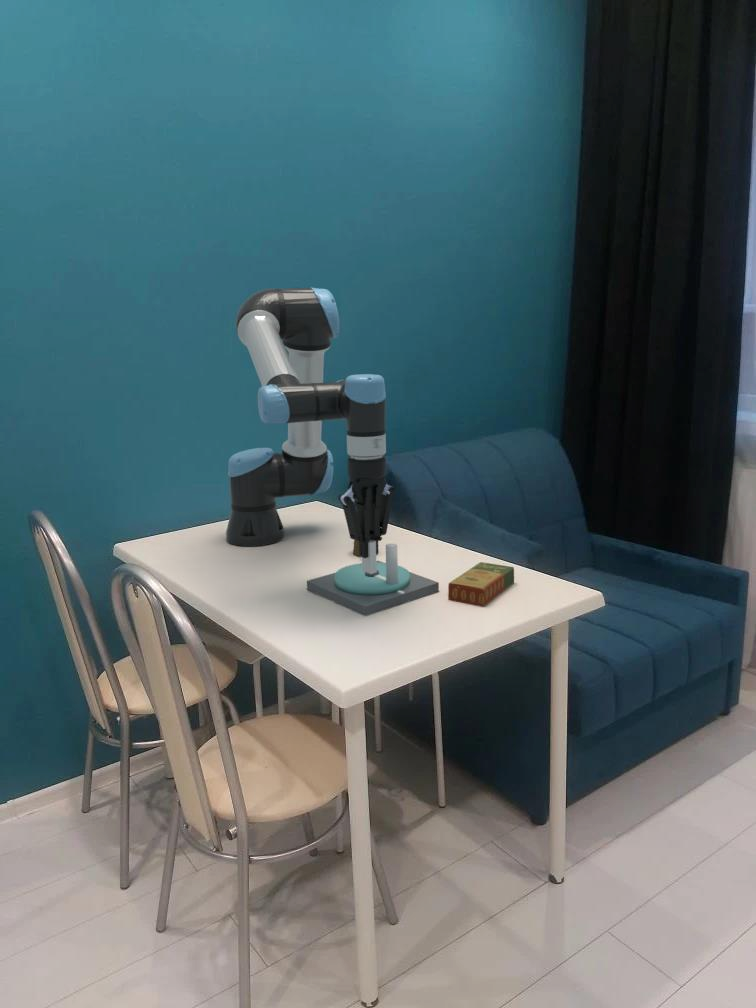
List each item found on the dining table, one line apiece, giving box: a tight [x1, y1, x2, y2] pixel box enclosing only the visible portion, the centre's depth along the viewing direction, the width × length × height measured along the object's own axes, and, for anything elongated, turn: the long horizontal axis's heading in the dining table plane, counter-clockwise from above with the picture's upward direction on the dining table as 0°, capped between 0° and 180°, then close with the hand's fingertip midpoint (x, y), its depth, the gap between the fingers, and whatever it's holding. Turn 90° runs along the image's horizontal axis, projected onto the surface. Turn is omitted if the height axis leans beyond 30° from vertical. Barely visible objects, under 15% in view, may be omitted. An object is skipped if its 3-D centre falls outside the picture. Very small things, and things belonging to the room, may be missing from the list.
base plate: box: [306, 560, 440, 617], centre depth 166 cm, size 20×20×2 cm
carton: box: [447, 561, 515, 607], centre depth 165 cm, size 8×16×4 cm, turn 148°
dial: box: [334, 543, 410, 595], centre depth 165 cm, size 16×16×10 cm
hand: (369, 571), depth 156 cm, fingers closed
